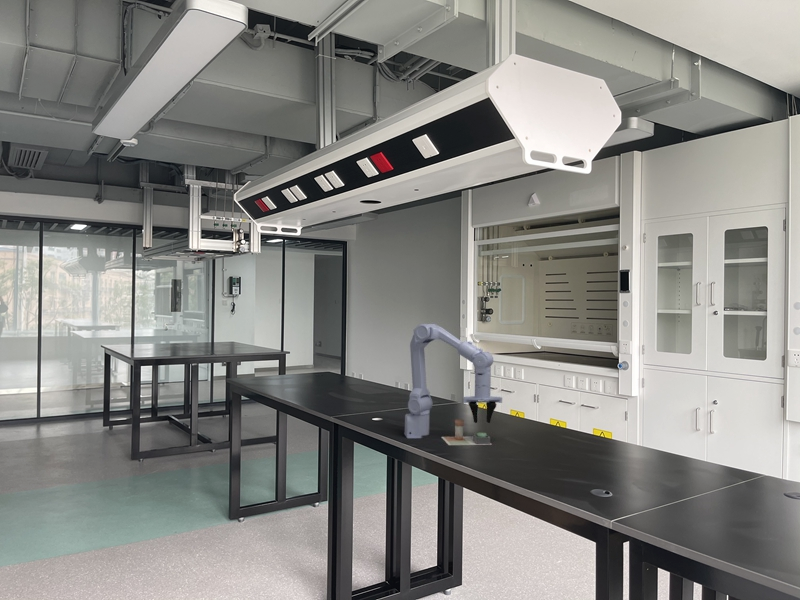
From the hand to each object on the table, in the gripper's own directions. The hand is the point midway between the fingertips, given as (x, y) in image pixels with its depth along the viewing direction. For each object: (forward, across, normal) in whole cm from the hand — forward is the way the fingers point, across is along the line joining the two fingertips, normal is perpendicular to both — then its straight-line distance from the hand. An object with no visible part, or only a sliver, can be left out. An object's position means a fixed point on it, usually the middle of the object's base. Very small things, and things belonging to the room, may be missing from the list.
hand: (481, 422), depth 210 cm
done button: (+6, 0, 0) cm, 6 cm away
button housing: (+7, 0, 0) cm, 7 cm away
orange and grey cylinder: (+7, -7, +6) cm, 12 cm away
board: (+8, -5, +4) cm, 10 cm away
